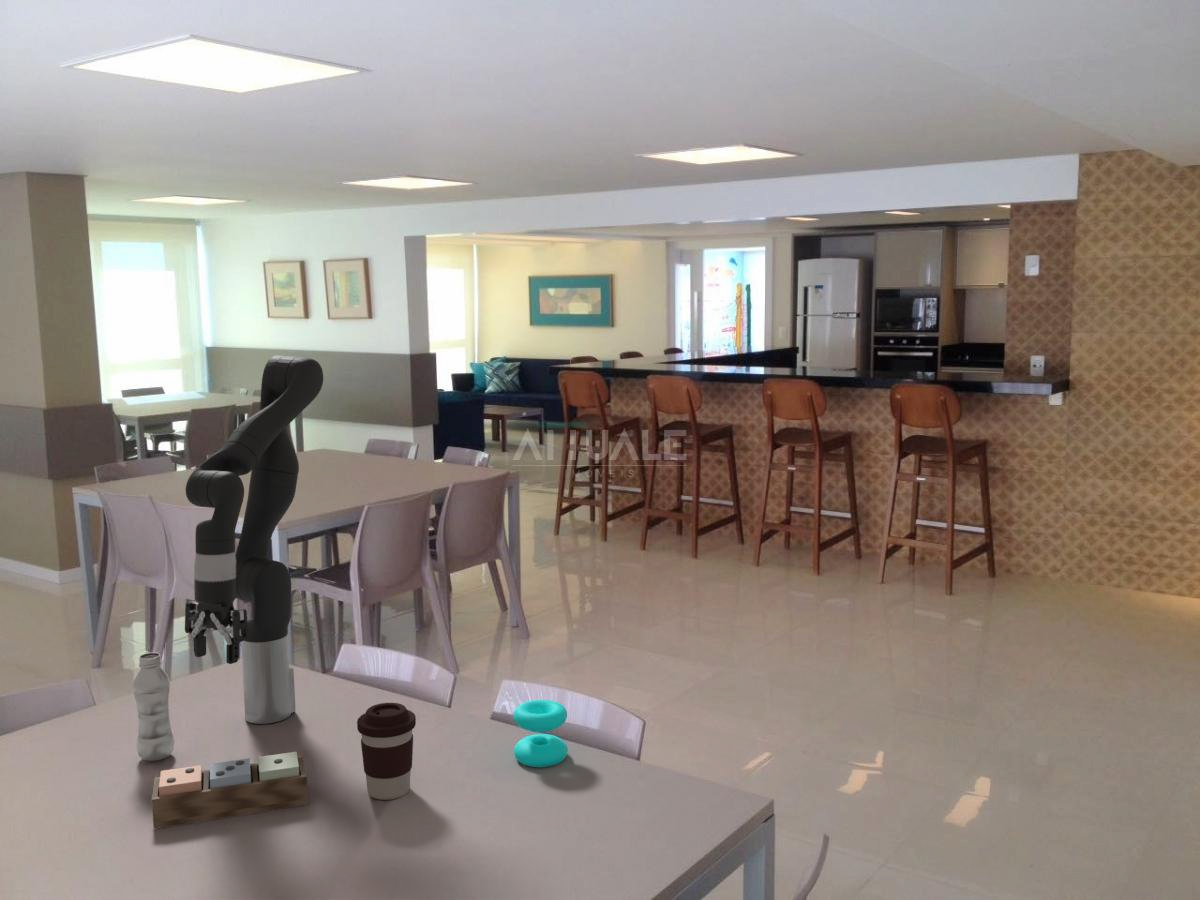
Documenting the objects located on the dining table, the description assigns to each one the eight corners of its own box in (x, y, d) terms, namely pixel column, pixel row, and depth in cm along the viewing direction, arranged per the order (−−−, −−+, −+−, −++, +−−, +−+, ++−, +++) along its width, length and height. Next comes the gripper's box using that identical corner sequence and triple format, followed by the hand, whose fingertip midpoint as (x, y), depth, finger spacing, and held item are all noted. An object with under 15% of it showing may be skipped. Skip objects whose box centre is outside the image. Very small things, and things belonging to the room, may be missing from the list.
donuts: (575, 701, 197) (553, 720, 187) (576, 752, 198) (554, 773, 189) (527, 694, 200) (504, 713, 191) (528, 744, 202) (504, 764, 192)
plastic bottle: (181, 751, 199) (175, 650, 196) (163, 766, 192) (157, 662, 190) (149, 749, 200) (143, 649, 197) (130, 765, 193) (123, 661, 190)
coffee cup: (428, 785, 184) (426, 703, 182) (395, 809, 175) (392, 724, 173) (382, 774, 189) (380, 695, 186) (347, 798, 180) (344, 714, 178)
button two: (202, 781, 178) (201, 763, 178) (201, 798, 172) (200, 779, 172) (161, 787, 176) (160, 769, 176) (159, 804, 170) (158, 785, 170)
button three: (250, 774, 181) (249, 757, 180) (251, 790, 175) (250, 772, 174) (211, 780, 179) (210, 762, 178) (210, 796, 173) (209, 778, 172)
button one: (297, 767, 184) (296, 750, 183) (299, 783, 178) (298, 765, 177) (258, 773, 181) (258, 755, 181) (260, 789, 175) (259, 771, 175)
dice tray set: (303, 783, 185) (302, 756, 185) (307, 804, 177) (306, 776, 177) (156, 805, 177) (154, 777, 177) (153, 828, 169) (151, 799, 169)
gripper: (258, 576, 197) (258, 660, 198) (204, 568, 203) (205, 649, 205) (227, 583, 190) (227, 670, 192) (173, 574, 197) (173, 658, 198)
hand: (216, 659), depth 198 cm, fingers open, 8 cm apart
